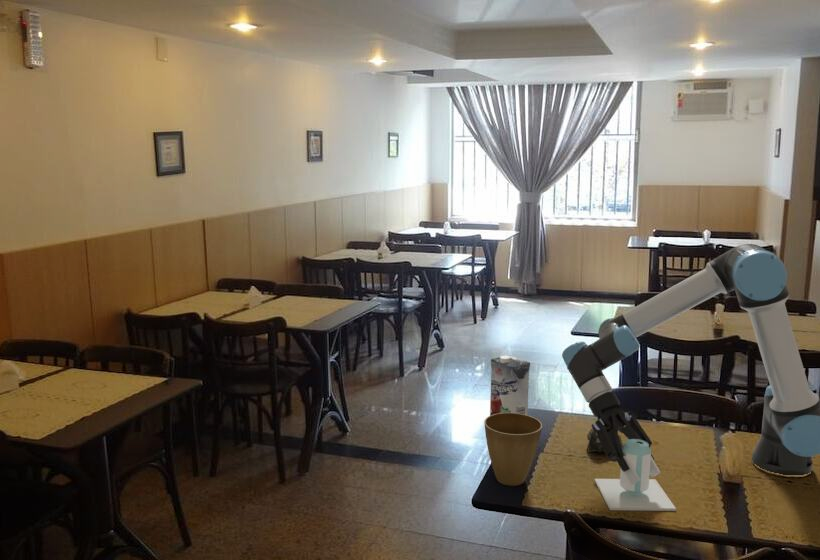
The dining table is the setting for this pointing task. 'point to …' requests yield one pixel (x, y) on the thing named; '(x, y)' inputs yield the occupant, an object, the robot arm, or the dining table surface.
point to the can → (637, 465)
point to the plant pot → (512, 445)
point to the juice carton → (509, 385)
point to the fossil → (596, 442)
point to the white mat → (634, 496)
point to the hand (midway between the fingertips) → (646, 478)
